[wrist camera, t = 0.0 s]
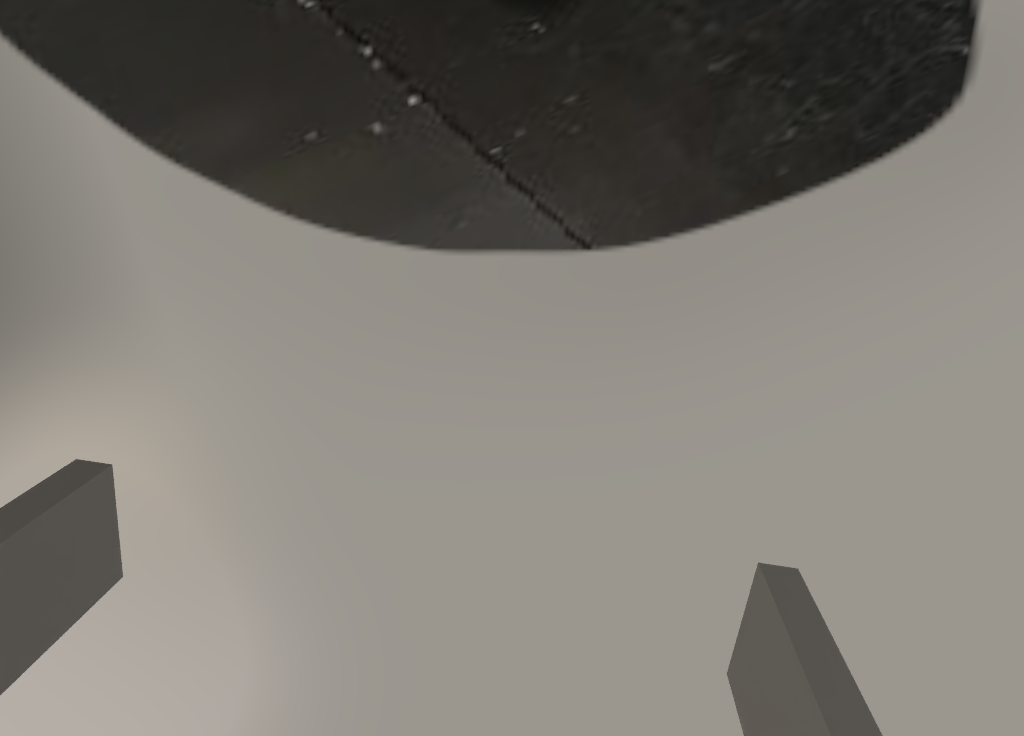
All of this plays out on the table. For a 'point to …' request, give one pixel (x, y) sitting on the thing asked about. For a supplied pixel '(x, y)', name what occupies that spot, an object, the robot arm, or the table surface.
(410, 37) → the table surface
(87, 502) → the robot arm
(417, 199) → the table surface
